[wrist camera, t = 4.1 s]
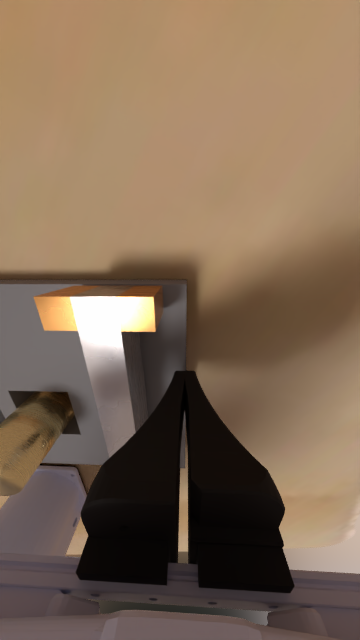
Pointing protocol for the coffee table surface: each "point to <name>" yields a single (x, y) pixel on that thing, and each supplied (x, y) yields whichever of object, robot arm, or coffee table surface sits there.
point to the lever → (109, 347)
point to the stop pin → (30, 437)
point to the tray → (1, 417)
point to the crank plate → (80, 361)
